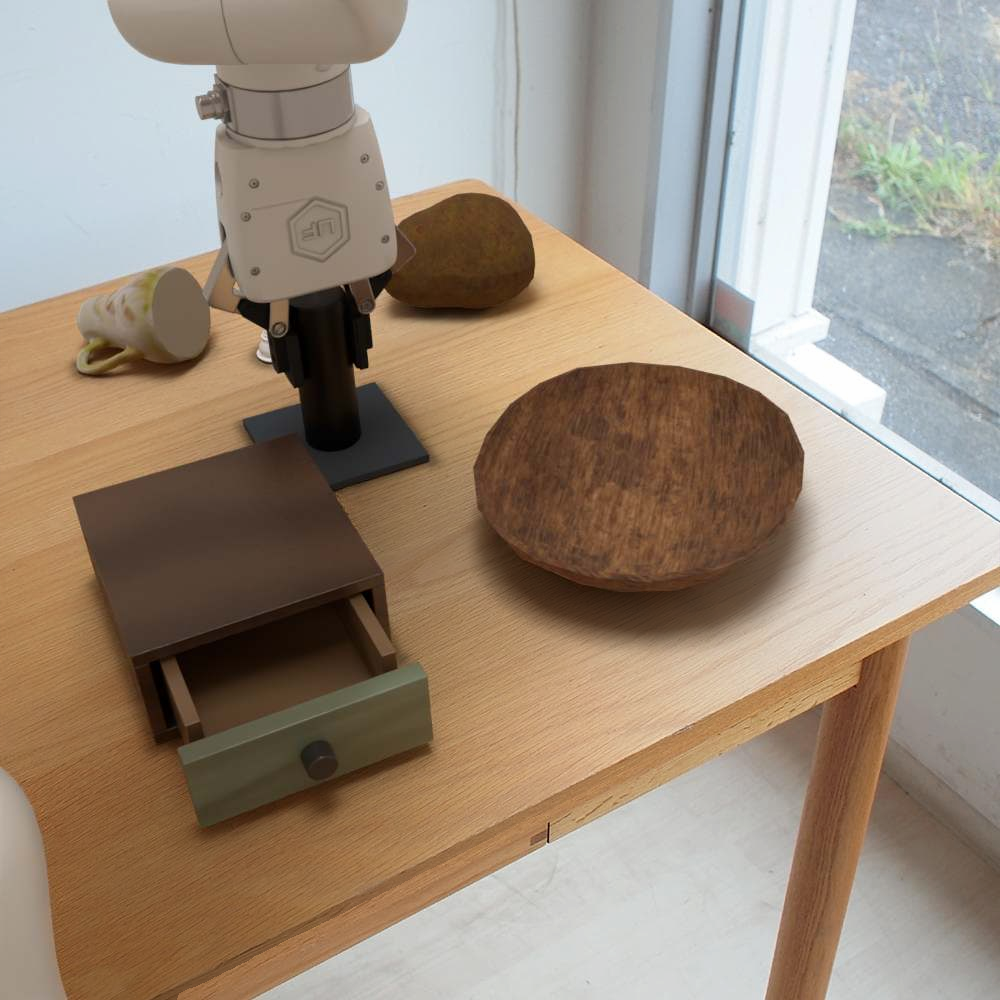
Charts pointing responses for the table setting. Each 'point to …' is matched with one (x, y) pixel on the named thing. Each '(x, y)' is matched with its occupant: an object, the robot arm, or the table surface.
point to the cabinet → (220, 555)
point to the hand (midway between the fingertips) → (324, 366)
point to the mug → (146, 320)
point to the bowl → (639, 475)
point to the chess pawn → (264, 348)
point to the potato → (465, 254)
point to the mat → (371, 456)
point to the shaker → (326, 370)
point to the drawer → (291, 706)
